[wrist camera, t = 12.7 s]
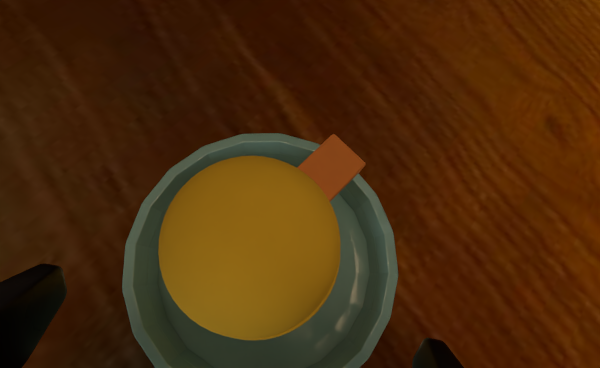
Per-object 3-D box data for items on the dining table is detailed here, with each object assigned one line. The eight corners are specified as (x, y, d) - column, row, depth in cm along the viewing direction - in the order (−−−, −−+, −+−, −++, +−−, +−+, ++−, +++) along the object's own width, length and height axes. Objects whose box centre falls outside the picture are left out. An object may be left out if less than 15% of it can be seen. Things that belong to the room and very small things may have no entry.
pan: (409, 328, 20) (442, 342, 16) (189, 427, 18) (165, 469, 14) (326, 132, 23) (336, 103, 19) (128, 198, 21) (94, 180, 17)
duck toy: (264, 335, 19) (235, 496, 5) (196, 261, 19) (13, 232, 6) (341, 252, 20) (477, 207, 7) (275, 187, 21) (275, 25, 7)
